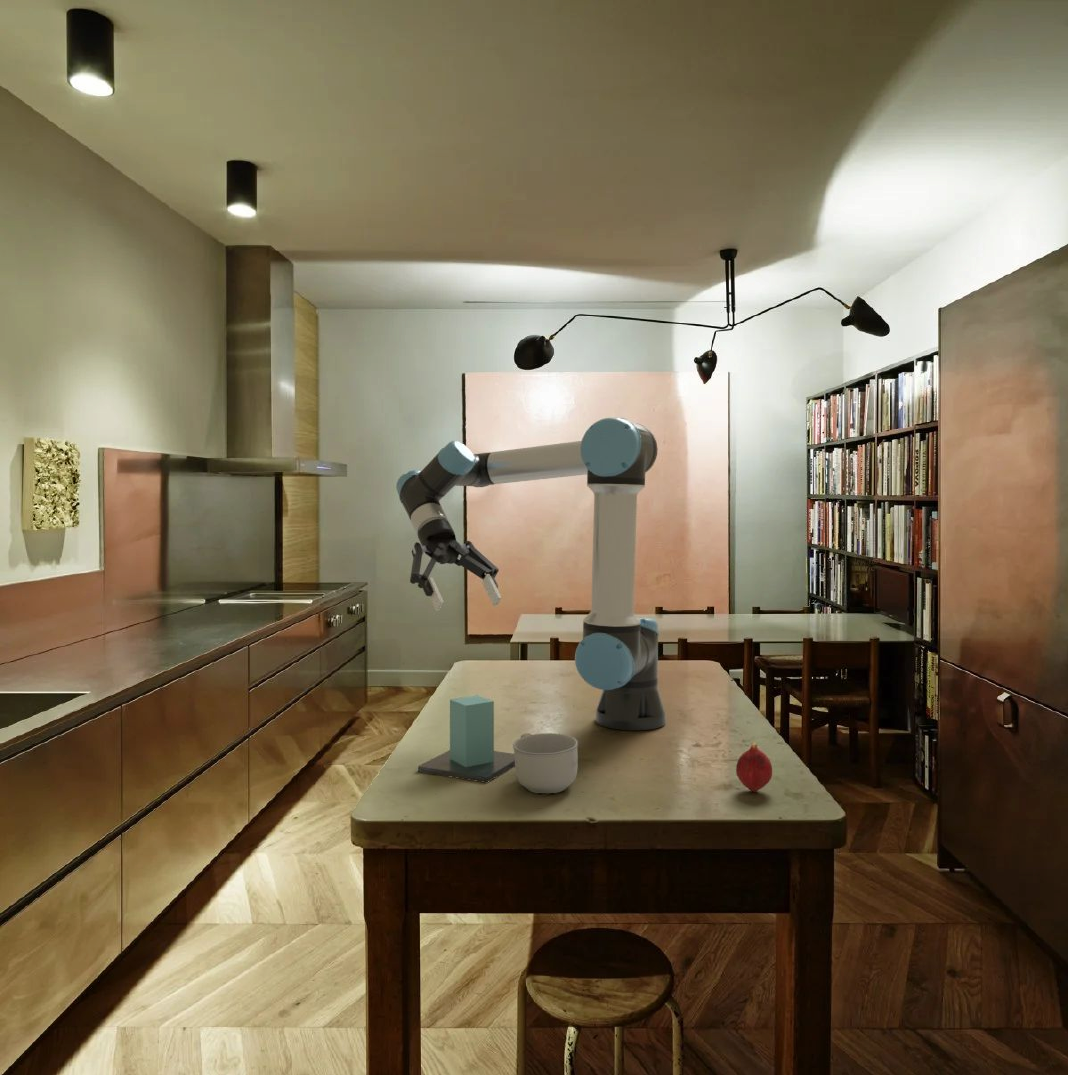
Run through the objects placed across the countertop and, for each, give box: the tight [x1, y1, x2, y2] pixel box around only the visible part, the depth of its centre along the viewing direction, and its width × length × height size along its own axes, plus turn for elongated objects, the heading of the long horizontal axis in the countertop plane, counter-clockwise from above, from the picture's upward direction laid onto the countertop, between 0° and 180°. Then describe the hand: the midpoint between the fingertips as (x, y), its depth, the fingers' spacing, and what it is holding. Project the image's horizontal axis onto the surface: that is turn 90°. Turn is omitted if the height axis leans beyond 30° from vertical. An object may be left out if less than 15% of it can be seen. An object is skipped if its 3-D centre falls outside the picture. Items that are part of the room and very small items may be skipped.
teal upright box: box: [449, 695, 495, 767], centre depth 153 cm, size 6×6×11 cm
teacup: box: [512, 732, 579, 794], centre depth 142 cm, size 14×11×8 cm
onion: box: [735, 742, 773, 793], centre depth 139 cm, size 6×6×8 cm
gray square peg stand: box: [417, 749, 515, 783], centre depth 153 cm, size 14×14×9 cm
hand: (469, 604), depth 171 cm, fingers open, 13 cm apart
